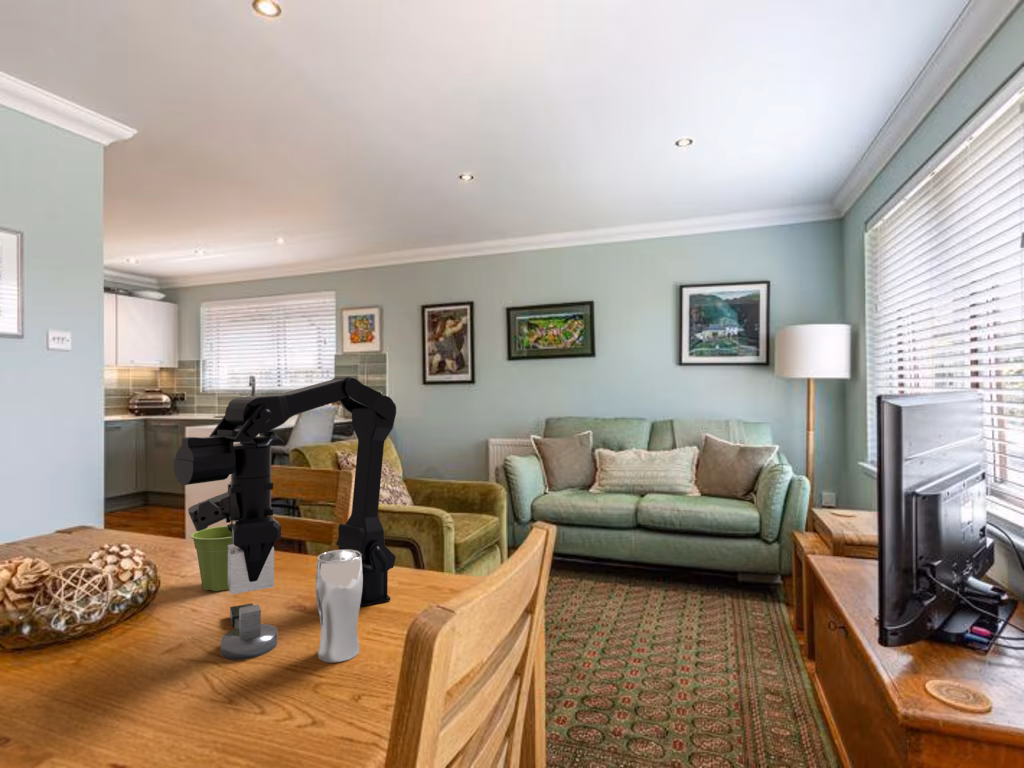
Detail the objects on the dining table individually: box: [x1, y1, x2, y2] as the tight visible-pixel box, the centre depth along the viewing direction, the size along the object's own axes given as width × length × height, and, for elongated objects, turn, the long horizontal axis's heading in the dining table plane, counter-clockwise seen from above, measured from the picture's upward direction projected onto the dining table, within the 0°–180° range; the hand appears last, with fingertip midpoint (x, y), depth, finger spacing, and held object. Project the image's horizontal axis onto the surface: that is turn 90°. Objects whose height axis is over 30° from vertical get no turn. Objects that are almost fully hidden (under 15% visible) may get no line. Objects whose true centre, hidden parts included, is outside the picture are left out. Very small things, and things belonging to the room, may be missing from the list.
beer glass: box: [315, 549, 363, 664], centre depth 83 cm, size 7×7×15 cm
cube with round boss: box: [228, 544, 275, 596], centre depth 85 cm, size 6×6×8 cm
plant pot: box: [189, 525, 233, 592], centre depth 112 cm, size 12×12×11 cm
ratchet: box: [220, 603, 278, 661], centre depth 89 cm, size 18×8×6 cm, turn 31°
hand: (250, 575), depth 85 cm, fingers closed on cube with round boss, 6 cm apart
